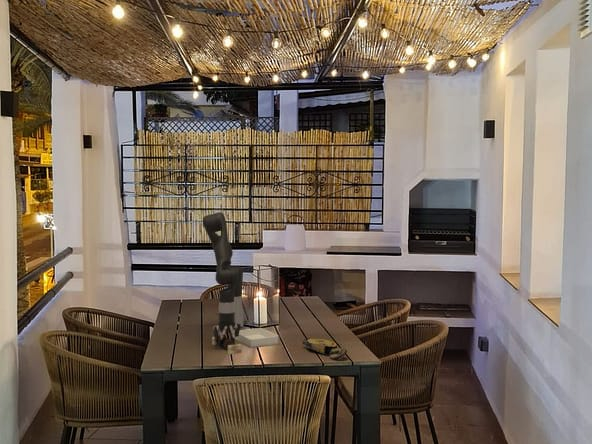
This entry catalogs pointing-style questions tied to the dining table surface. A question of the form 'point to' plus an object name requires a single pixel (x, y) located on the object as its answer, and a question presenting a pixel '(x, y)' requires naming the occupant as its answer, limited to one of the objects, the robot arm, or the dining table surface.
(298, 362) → the dining table surface
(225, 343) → the bolt
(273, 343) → the tray
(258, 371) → the dining table surface
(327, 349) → the pulley block
